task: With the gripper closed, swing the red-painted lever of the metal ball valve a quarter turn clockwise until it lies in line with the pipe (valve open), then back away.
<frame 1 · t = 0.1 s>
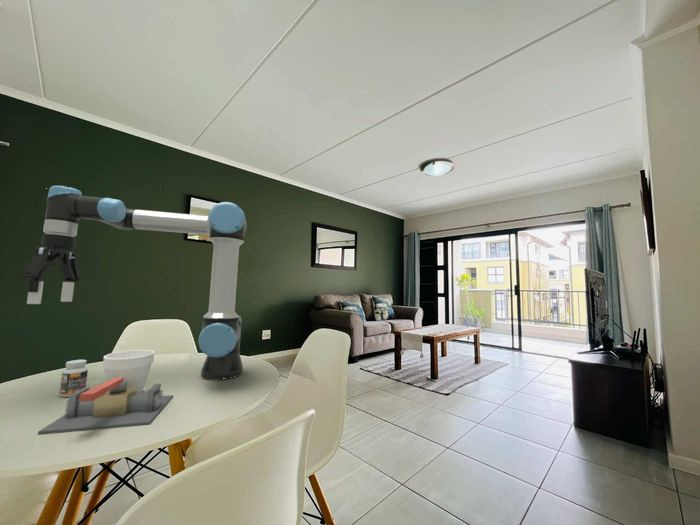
hand: (51, 302, 88), 28 cm above the table, fingers open, 13 cm apart
pill bottle: (72, 394, 87), on the table
mat: (115, 412, 76), on the table
cup: (125, 401, 84), on the table, touching mat
valve: (117, 399, 76), on the mat, point 3 cm above the table
lever: (106, 390, 71), point 8 cm above the table, hinge at 84.9°
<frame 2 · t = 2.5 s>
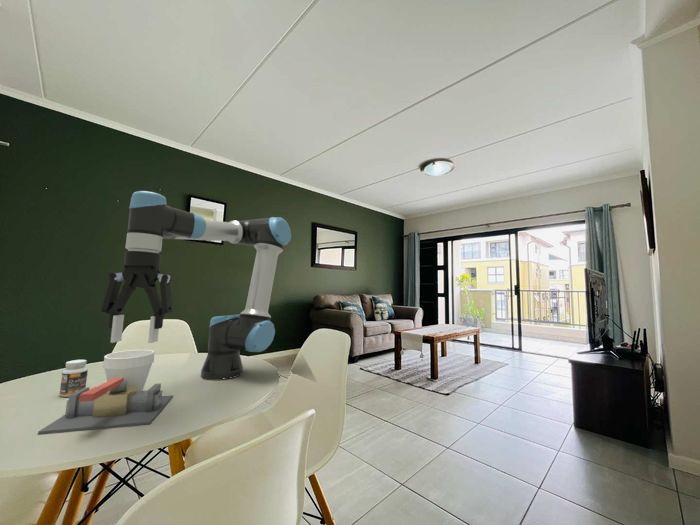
hand: (134, 341, 71), 20 cm above the table, fingers open, 8 cm apart
nothing on the table moved.
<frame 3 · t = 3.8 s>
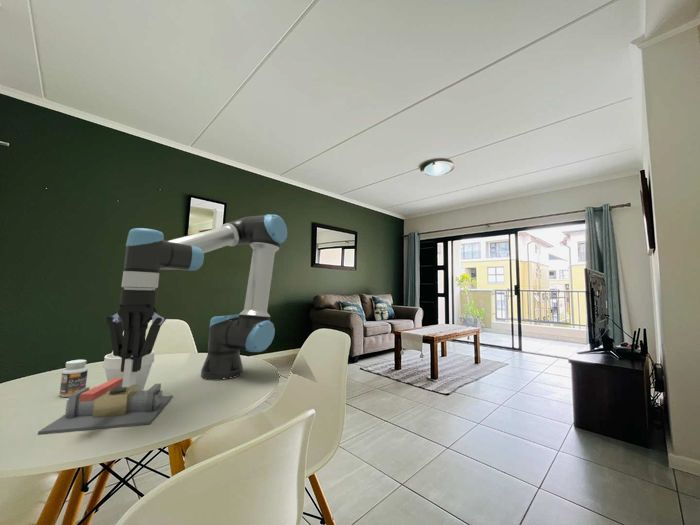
hand: (129, 385, 69), 10 cm above the table, fingers closed
nothing on the table moved.
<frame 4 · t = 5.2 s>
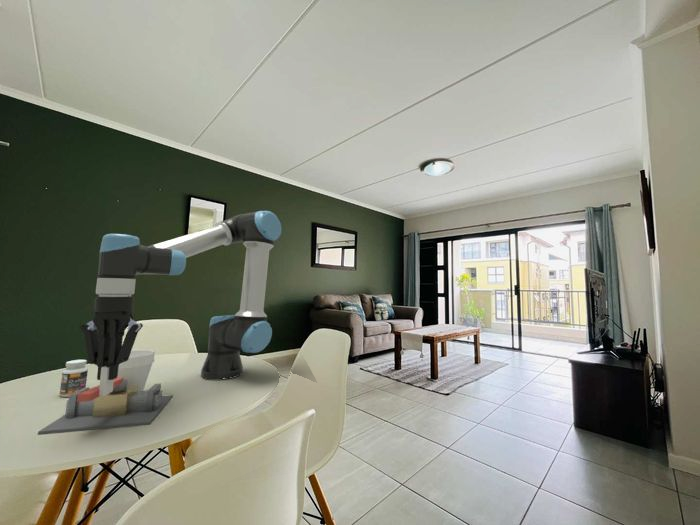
hand: (105, 393, 68), 8 cm above the table, fingers closed
lever: (105, 390, 71), point 8 cm above the table, hinge at 82.9°, touching gripper
everything else where it was.
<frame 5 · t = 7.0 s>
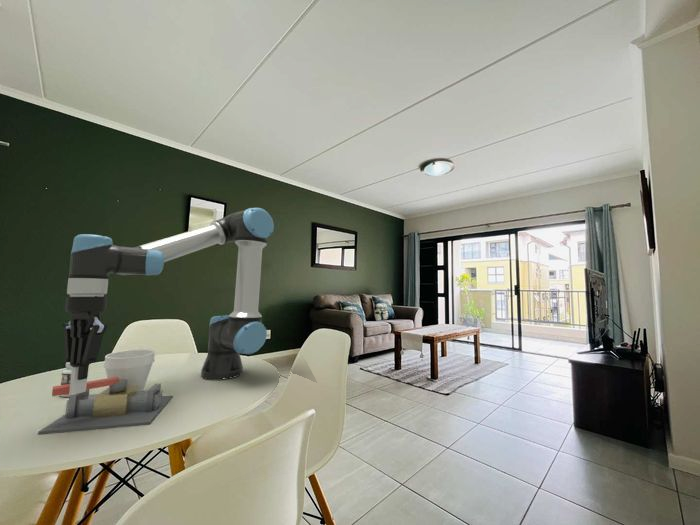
hand: (77, 392, 69), 8 cm above the table, fingers closed
lever: (92, 388, 72), point 8 cm above the table, hinge at 30.9°, touching gripper
everything else where it was.
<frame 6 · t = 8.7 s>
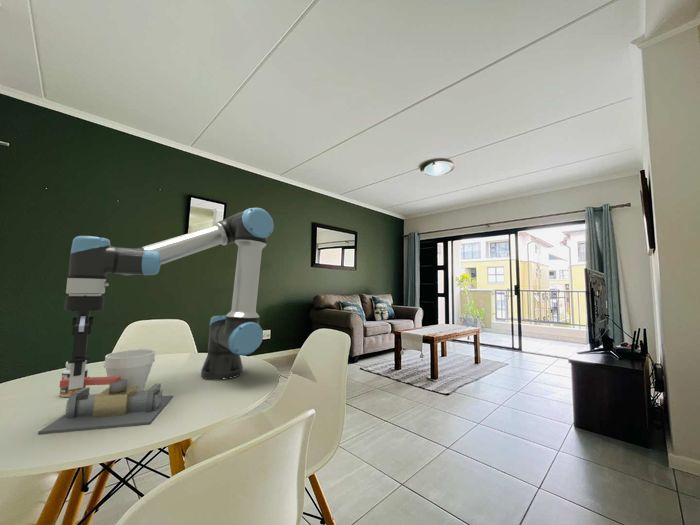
hand: (76, 387, 72), 8 cm above the table, fingers closed
lever: (95, 384, 75), point 8 cm above the table, hinge at -2.5°
everything else where it was.
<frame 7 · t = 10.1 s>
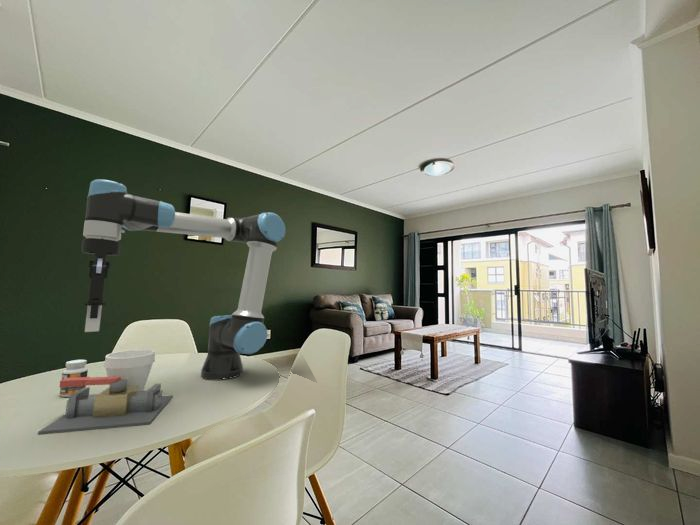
hand: (92, 331, 71), 22 cm above the table, fingers closed
nothing on the table moved.
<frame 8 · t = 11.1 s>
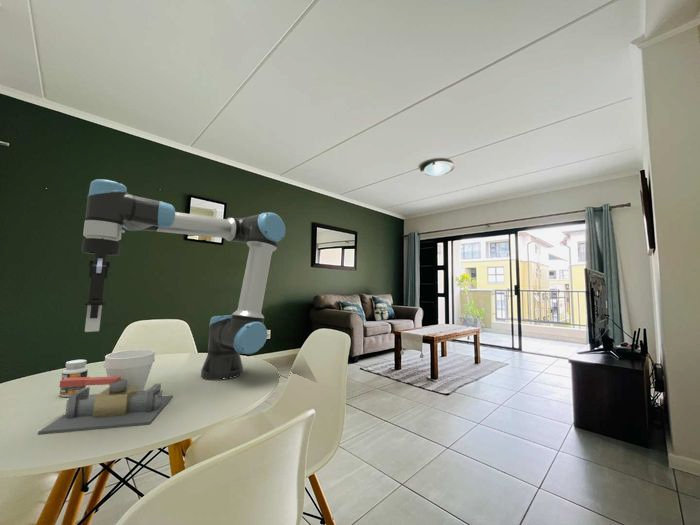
hand: (92, 331, 72), 22 cm above the table, fingers closed
nothing on the table moved.
at the end: lever at -2° (first picture: +85°) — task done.
